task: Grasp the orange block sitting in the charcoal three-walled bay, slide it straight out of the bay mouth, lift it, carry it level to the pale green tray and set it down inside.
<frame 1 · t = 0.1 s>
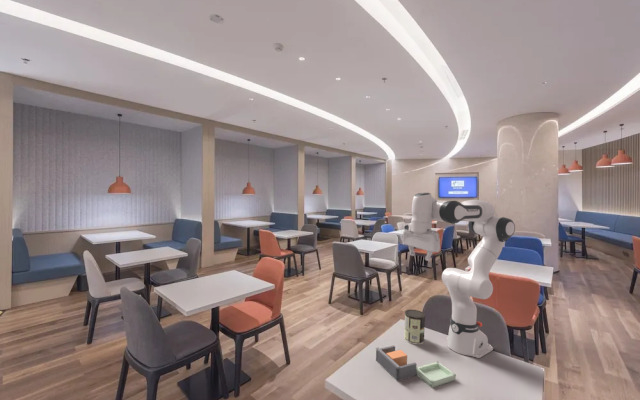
hand: (419, 257, 127), 48 cm above the table, fingers open, 8 cm apart
orange block: (396, 367, 123), on the table
coffee can: (413, 339, 147), on the table
tray: (434, 376, 117), on the table
bay: (395, 367, 123), on the table
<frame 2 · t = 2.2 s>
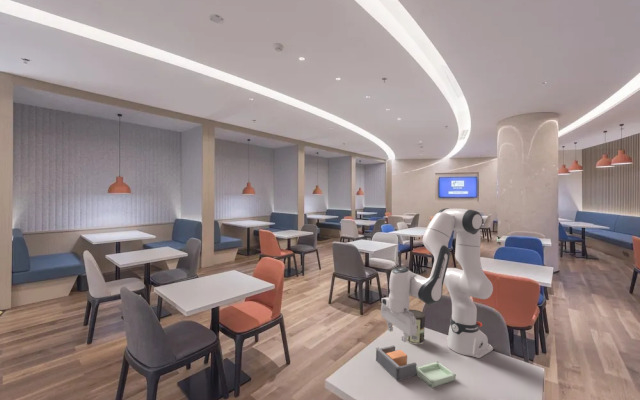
hand: (397, 335, 122), 14 cm above the table, fingers open, 8 cm apart
nothing on the table moved.
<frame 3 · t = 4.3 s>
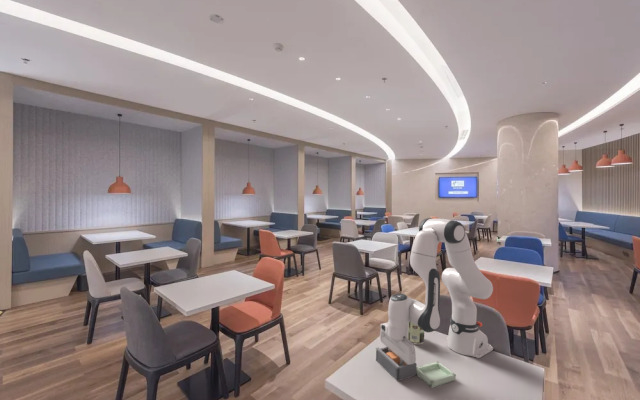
hand: (396, 362, 123), 2 cm above the table, fingers closed on orange block, 4 cm apart
orange block: (396, 367, 123), on the table, touching gripper
everything else where it was.
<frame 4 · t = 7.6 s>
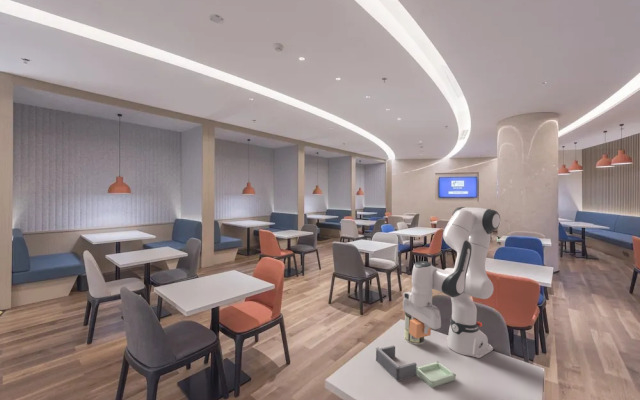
hand: (420, 329, 123), 17 cm above the table, fingers closed on orange block, 4 cm apart
orange block: (419, 334, 123), point 15 cm above the table, touching gripper
everything else where it was.
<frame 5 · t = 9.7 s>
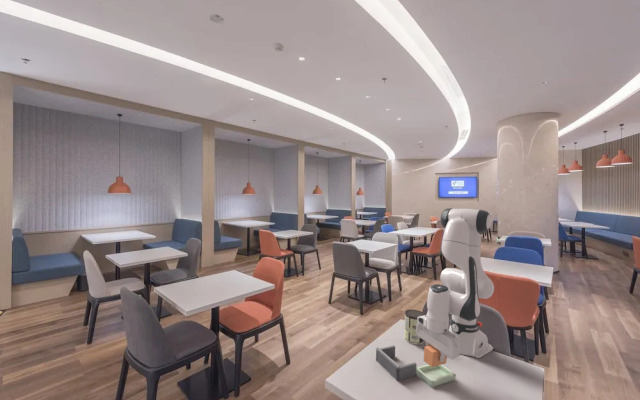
hand: (435, 357, 117), 9 cm above the table, fingers closed on orange block, 4 cm apart
orange block: (434, 362, 117), point 6 cm above the table, touching gripper
everything else where it was.
when the fingers open (4 cm above the table, at t = 11.3 s): orange block drops 1 cm, resting on tray.
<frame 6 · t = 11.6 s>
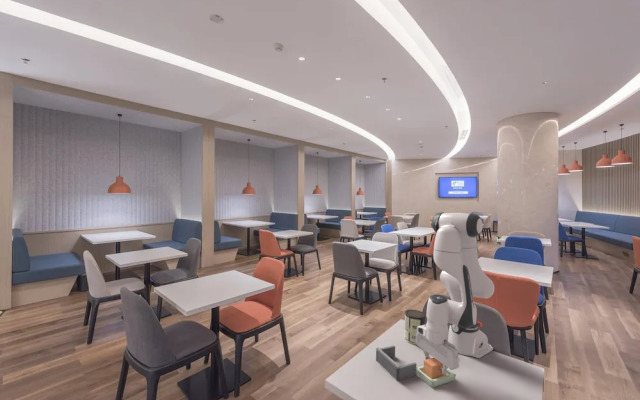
hand: (435, 367, 117), 4 cm above the table, fingers open, 7 cm apart
orange block: (434, 375, 117), point 1 cm above the table, touching tray
everything else where it was.
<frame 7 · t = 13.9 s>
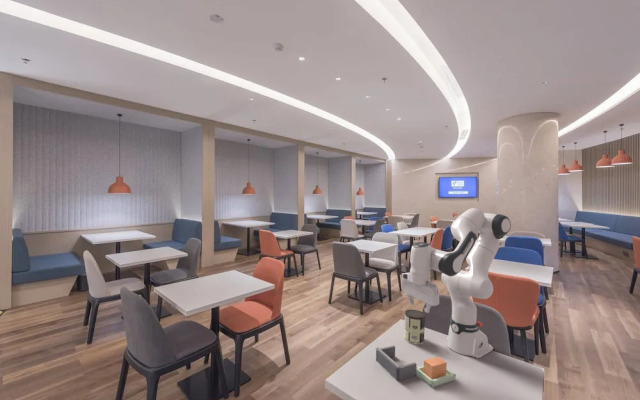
hand: (418, 308, 128), 25 cm above the table, fingers open, 8 cm apart
nothing on the table moved.
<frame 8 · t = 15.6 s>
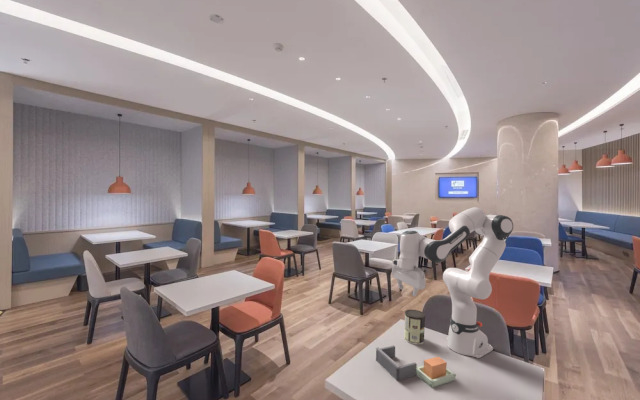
hand: (407, 292, 135), 29 cm above the table, fingers open, 8 cm apart
nothing on the table moved.
at the end: orange block 0.1 cm off-centre on the tray, point 0.6 cm above the tray's base; orange block tilted 0°; the gripper is holding nothing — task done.
